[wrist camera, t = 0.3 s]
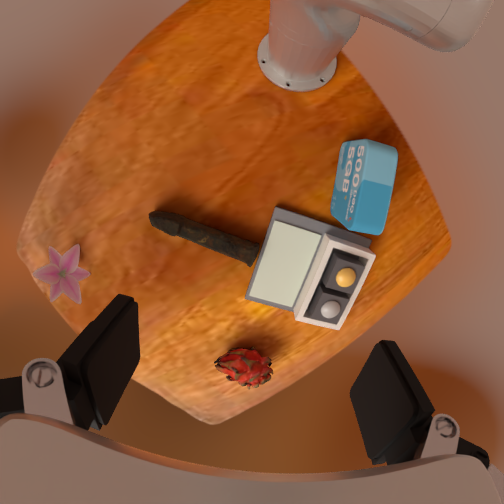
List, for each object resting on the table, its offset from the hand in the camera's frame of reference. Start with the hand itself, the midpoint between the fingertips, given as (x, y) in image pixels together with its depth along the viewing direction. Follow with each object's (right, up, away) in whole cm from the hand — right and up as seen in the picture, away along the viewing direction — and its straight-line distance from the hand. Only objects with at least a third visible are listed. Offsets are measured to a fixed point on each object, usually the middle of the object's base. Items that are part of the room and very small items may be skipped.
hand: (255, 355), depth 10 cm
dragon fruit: (-2, -18, +44) cm, 48 cm away
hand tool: (-8, +7, +36) cm, 37 cm away
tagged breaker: (+14, +1, +34) cm, 37 cm away
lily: (-37, +1, +39) cm, 54 cm away
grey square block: (+13, -4, +36) cm, 38 cm away
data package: (+16, +16, +32) cm, 39 cm away
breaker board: (+10, +1, +37) cm, 38 cm away
